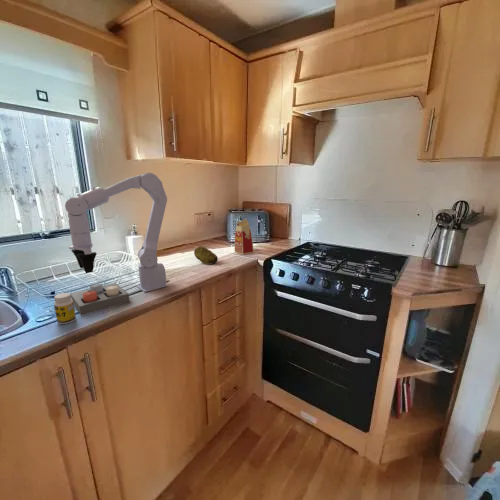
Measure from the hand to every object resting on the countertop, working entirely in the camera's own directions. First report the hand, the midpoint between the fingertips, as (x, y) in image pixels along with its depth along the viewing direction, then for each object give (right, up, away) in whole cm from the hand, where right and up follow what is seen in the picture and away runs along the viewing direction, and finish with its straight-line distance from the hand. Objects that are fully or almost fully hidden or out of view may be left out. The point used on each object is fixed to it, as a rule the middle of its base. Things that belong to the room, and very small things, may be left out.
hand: (86, 269), depth 98 cm
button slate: (+4, -9, 0) cm, 10 cm away
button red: (+5, -10, -6) cm, 13 cm away
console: (+6, -11, -1) cm, 13 cm away
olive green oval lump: (+36, 0, +44) cm, 57 cm away
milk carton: (+55, +5, +64) cm, 84 cm away
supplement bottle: (+3, -15, -15) cm, 21 cm away
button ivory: (+10, -9, -2) cm, 14 cm away
